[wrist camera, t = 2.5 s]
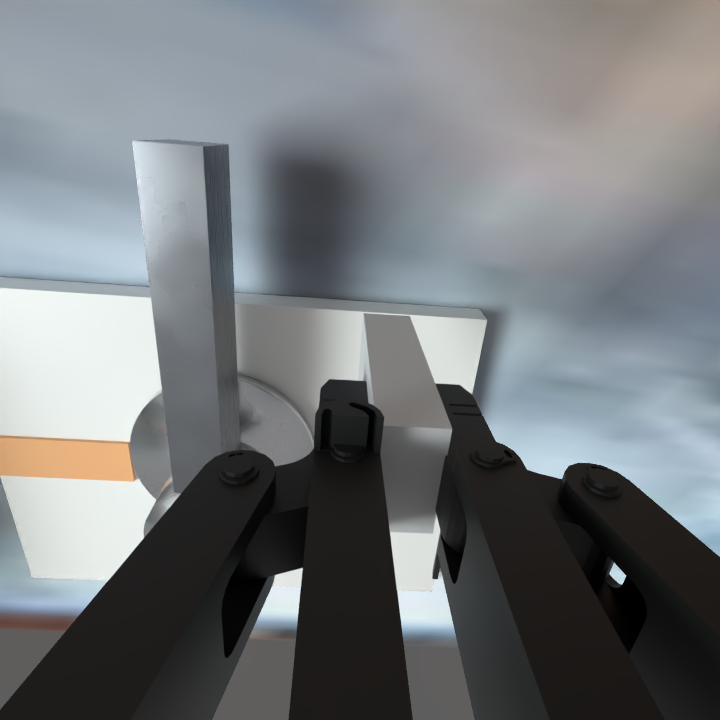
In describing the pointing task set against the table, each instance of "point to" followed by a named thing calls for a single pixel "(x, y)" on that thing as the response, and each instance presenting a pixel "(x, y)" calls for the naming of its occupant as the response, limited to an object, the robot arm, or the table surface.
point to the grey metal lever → (198, 330)
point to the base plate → (141, 382)
